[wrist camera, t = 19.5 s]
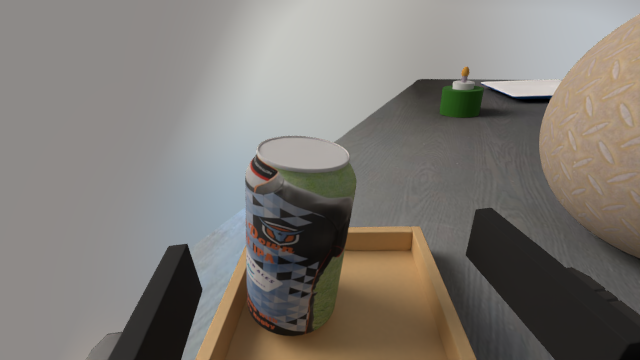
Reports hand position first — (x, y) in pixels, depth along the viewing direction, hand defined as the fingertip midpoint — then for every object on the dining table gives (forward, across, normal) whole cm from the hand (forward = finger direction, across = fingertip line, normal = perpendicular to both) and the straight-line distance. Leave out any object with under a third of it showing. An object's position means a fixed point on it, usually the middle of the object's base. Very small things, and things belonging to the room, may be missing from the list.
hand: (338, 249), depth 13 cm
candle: (+52, +37, -9) cm, 64 cm away
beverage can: (+4, -2, -8) cm, 9 cm away
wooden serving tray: (+3, 0, -9) cm, 9 cm away
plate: (+63, +67, -9) cm, 93 cm away
